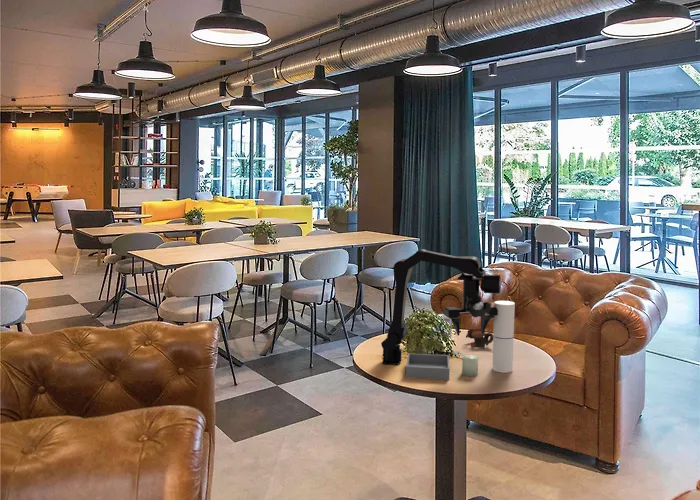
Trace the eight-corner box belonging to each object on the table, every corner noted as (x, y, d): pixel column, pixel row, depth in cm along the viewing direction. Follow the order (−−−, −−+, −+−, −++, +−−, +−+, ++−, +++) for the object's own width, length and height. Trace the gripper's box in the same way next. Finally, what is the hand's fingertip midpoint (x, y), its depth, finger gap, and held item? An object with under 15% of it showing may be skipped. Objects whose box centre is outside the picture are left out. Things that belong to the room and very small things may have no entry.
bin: (406, 377, 200) (406, 366, 199) (408, 363, 214) (408, 353, 214) (449, 379, 197) (449, 368, 197) (448, 365, 212) (448, 355, 211)
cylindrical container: (501, 373, 203) (503, 305, 199) (488, 368, 209) (490, 301, 206) (516, 370, 206) (519, 303, 203) (502, 365, 212) (505, 299, 209)
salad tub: (462, 375, 201) (462, 359, 200) (461, 370, 207) (462, 354, 206) (478, 376, 200) (478, 360, 200) (477, 371, 206) (477, 355, 205)
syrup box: (451, 353, 227) (451, 317, 225) (436, 352, 228) (436, 317, 226) (451, 348, 232) (452, 314, 231) (436, 347, 234) (437, 313, 232)
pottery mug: (463, 348, 234) (462, 329, 237) (471, 353, 242) (469, 334, 245) (492, 345, 228) (490, 325, 232) (499, 349, 236) (497, 330, 239)
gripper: (454, 298, 193) (454, 342, 195) (505, 295, 196) (504, 339, 198) (443, 291, 204) (442, 333, 206) (491, 289, 207) (490, 330, 209)
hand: (470, 334), depth 205 cm, fingers open, 9 cm apart
